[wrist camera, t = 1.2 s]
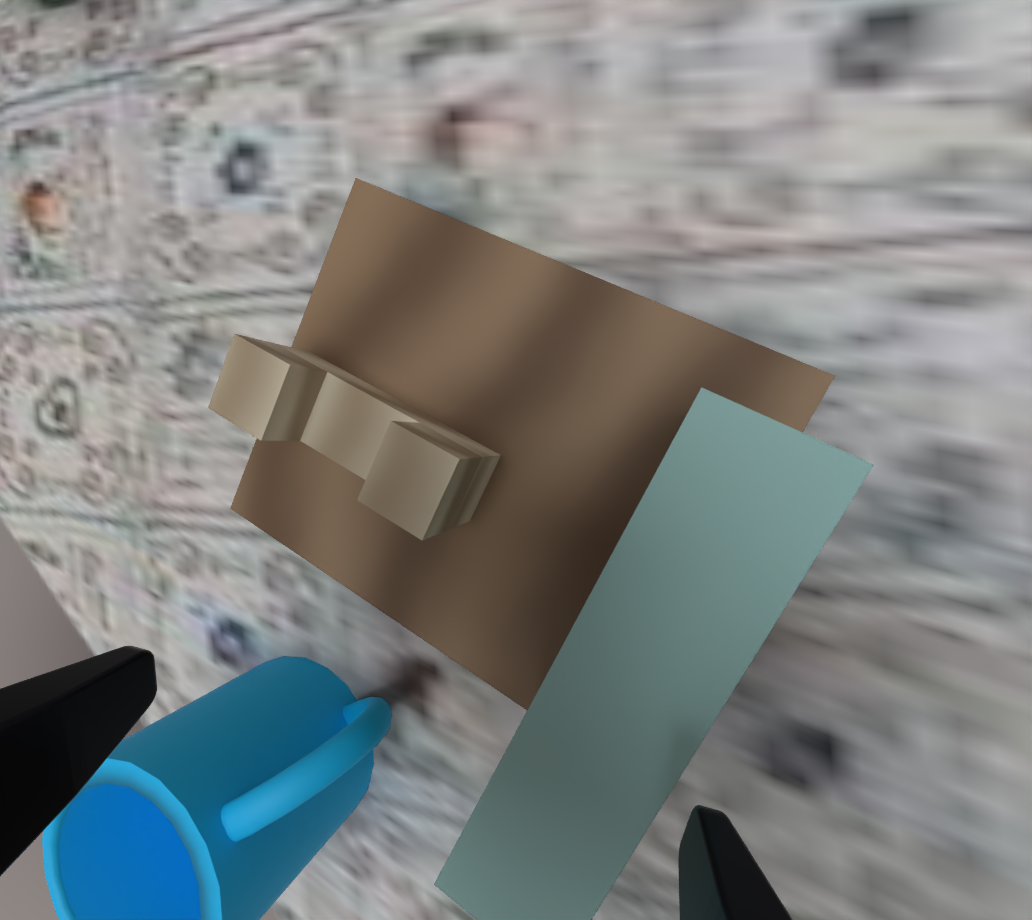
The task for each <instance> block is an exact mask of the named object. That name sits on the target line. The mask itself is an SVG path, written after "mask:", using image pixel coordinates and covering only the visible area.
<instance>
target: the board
mask: <svg viewBox="0 0 1032 920" xmlns="http://www.w3.org/2000/svg"><path fill="white" fill-rule="evenodd" d="M291 348H295V349H300V350H304V351H308V352H311V353H313V354H315V355H316V356H318V357H320V358H322V359H324V360H326V361H328V362H329V363H331V364H333V365H335V366H337V367H339V368H340V369H342V370H344V371H346V372H348V373H350V374H352V375H353V376H355V377H357V378H359V379H361V380H363V381H365V382H366V383H368V384H370V385H372V386H374V387H376V388H378V389H379V390H381V391H383V392H385V393H387V394H389V395H390V396H392V397H394V398H396V399H398V400H400V401H402V402H403V403H405V404H407V405H409V406H411V407H413V408H415V409H416V410H418V411H420V412H422V413H424V414H426V415H427V416H429V417H431V418H433V419H435V420H437V421H439V422H440V423H442V424H444V425H446V426H448V427H450V428H452V429H453V430H455V431H457V432H459V433H461V434H463V435H464V436H466V437H468V438H470V439H472V440H474V441H476V442H477V443H479V444H481V445H483V446H485V447H487V448H489V449H490V450H492V451H494V452H496V453H498V454H500V455H501V456H500V458H499V460H498V463H497V465H496V467H495V469H494V471H493V473H492V475H491V477H490V479H489V482H488V484H487V486H486V488H485V490H484V492H483V494H482V496H481V498H480V500H479V503H478V505H477V507H476V509H475V511H474V513H473V515H472V517H471V519H470V521H469V522H467V523H464V524H462V525H459V526H457V527H454V528H452V529H449V530H447V531H444V532H442V533H439V534H437V535H434V536H432V537H429V538H427V539H425V540H420V539H419V538H417V537H416V536H414V535H412V534H411V533H409V532H408V531H406V530H404V529H403V528H401V527H399V526H398V525H396V524H395V523H393V522H391V521H390V520H388V519H387V518H385V517H383V516H382V515H380V514H378V513H377V512H375V511H374V510H372V509H370V508H369V507H367V506H366V505H364V504H362V503H361V502H359V501H358V500H357V499H358V497H359V494H360V492H361V490H362V487H363V485H364V483H365V479H363V478H361V477H360V476H358V475H356V474H355V473H353V472H351V471H350V470H348V469H346V468H345V467H343V466H341V465H340V464H338V463H336V462H335V461H333V460H331V459H330V458H328V457H326V456H325V455H323V454H321V453H320V452H318V451H316V450H315V449H313V448H311V447H310V446H308V445H307V444H305V443H303V442H302V441H261V440H259V439H256V442H255V445H254V447H253V450H252V453H251V455H250V458H249V460H248V463H247V466H246V468H245V471H244V474H243V476H242V479H241V482H240V484H239V487H238V489H237V492H236V495H235V497H234V500H233V503H232V505H231V508H230V509H232V510H233V511H235V512H236V513H238V514H239V515H241V516H242V517H244V518H245V519H247V520H248V521H250V522H251V523H252V524H254V525H255V526H257V527H258V528H260V529H261V530H263V531H264V532H266V533H267V534H269V535H270V536H272V537H273V538H275V539H276V540H277V541H279V542H280V543H282V544H283V545H285V546H286V547H288V548H289V549H291V550H292V551H294V552H295V553H297V554H298V555H300V556H301V557H302V558H304V559H305V560H307V561H308V562H310V563H311V564H313V565H314V566H316V567H317V568H319V569H320V570H322V571H323V572H325V573H326V574H327V575H329V576H330V577H332V578H333V579H335V580H336V581H338V582H339V583H341V584H342V585H344V586H345V587H347V588H348V589H350V590H351V591H353V592H354V593H355V594H357V595H358V596H360V597H361V598H363V599H364V600H366V601H367V602H369V603H370V604H372V605H373V606H375V607H376V608H378V609H379V610H380V611H382V612H383V613H385V614H386V615H388V616H389V617H391V618H392V619H394V620H395V621H397V622H398V623H400V624H401V625H403V626H404V627H405V628H407V629H408V630H410V631H411V632H413V633H414V634H416V635H417V636H419V637H420V638H422V639H423V640H425V641H426V642H428V643H429V644H430V645H432V646H433V647H435V648H436V649H438V650H439V651H441V652H442V653H444V654H445V655H447V656H448V657H450V658H451V659H453V660H454V661H455V662H457V663H458V664H460V665H461V666H463V667H464V668H466V669H467V670H469V671H470V672H472V673H473V674H475V675H476V676H478V677H479V678H481V679H482V680H483V681H485V682H486V683H488V684H489V685H491V686H492V687H494V688H495V689H497V690H498V691H500V692H501V693H503V694H504V695H506V696H507V697H508V698H510V699H511V700H513V701H514V702H516V703H517V704H519V705H520V706H522V707H523V708H525V709H526V710H528V709H529V707H530V705H531V703H532V701H533V699H534V698H535V696H536V694H537V692H538V690H539V688H540V686H541V685H542V683H543V681H544V679H545V677H546V675H547V673H548V672H549V670H550V668H551V666H552V664H553V662H554V660H555V659H556V657H557V655H558V653H559V651H560V649H561V647H562V646H563V644H564V642H565V640H566V638H567V636H568V634H569V633H570V631H571V629H572V627H573V625H574V623H575V621H576V620H577V618H578V616H579V614H580V612H581V610H582V608H583V607H584V605H585V603H586V601H587V599H588V597H589V595H590V594H591V592H592V590H593V588H594V586H595V584H596V582H597V581H598V579H599V577H600V575H601V573H602V571H603V569H604V568H605V566H606V564H607V562H608V560H609V558H610V556H611V555H612V553H613V551H614V549H615V547H616V545H617V543H618V542H619V540H620V538H621V536H622V534H623V532H624V530H625V529H626V527H627V525H628V523H629V521H630V519H631V517H632V516H633V514H634V512H635V510H636V508H637V506H638V504H639V503H640V501H641V499H642V497H643V495H644V493H645V491H646V490H647V488H648V486H649V484H650V482H651V480H652V478H653V477H654V475H655V473H656V471H657V469H658V467H659V465H660V464H661V462H662V460H663V458H664V456H665V454H666V452H667V451H668V449H669V447H670V445H671V443H672V441H673V439H674V438H675V436H676V434H677V432H678V430H679V428H680V426H681V425H682V423H683V421H684V419H685V417H686V415H687V413H688V412H689V410H690V408H691V406H692V404H693V402H694V400H695V399H696V397H697V395H698V393H699V391H700V389H701V387H702V388H704V389H706V390H709V391H711V392H713V393H715V394H718V395H720V396H722V397H724V398H726V399H729V400H731V401H733V402H735V403H738V404H740V405H742V406H744V407H747V408H749V409H751V410H753V411H755V412H758V413H760V414H762V415H764V416H767V417H769V418H771V419H773V420H776V421H778V422H780V423H782V424H784V425H787V426H789V427H791V428H793V429H796V430H798V431H800V432H803V430H804V428H805V427H806V425H807V423H808V421H809V420H810V418H811V416H812V415H813V413H814V411H815V410H816V408H817V406H818V404H819V403H820V401H821V399H822V398H823V396H824V394H825V392H826V391H827V389H828V387H829V386H830V384H831V382H832V380H833V379H834V377H835V376H834V375H832V374H829V373H827V372H824V371H822V370H819V369H817V368H815V367H812V366H810V365H807V364H805V363H803V362H800V361H798V360H795V359H793V358H790V357H788V356H786V355H783V354H781V353H778V352H776V351H773V350H771V349H769V348H766V347H764V346H761V345H759V344H756V343H754V342H752V341H749V340H747V339H744V338H742V337H740V336H737V335H735V334H732V333H730V332H727V331H725V330H723V329H720V328H718V327H715V326H713V325H710V324H708V323H706V322H703V321H701V320H698V319H696V318H694V317H691V316H689V315H686V314H684V313H681V312H679V311H677V310H674V309H672V308H669V307H667V306H664V305H662V304H660V303H657V302H655V301H652V300H650V299H648V298H645V297H643V296H640V295H638V294H635V293H633V292H631V291H628V290H626V289H623V288H621V287H618V286H616V285H614V284H611V283H609V282H606V281H604V280H602V279H599V278H597V277H594V276H592V275H589V274H587V273H585V272H582V271H580V270H577V269H575V268H572V267H570V266H568V265H565V264H563V263H560V262H558V261H556V260H553V259H551V258H548V257H546V256H543V255H541V254H539V253H536V252H534V251H531V250H529V249H526V248H524V247H522V246H519V245H517V244H514V243H512V242H510V241H507V240H505V239H502V238H500V237H497V236H495V235H493V234H490V233H488V232H485V231H483V230H480V229H478V228H476V227H473V226H471V225H468V224H466V223H463V222H461V221H459V220H456V219H454V218H451V217H449V216H447V215H444V214H442V213H439V212H437V211H434V210H432V209H430V208H427V207H425V206H422V205H420V204H417V203H415V202H413V201H410V200H408V199H405V198H403V197H401V196H398V195H396V194H393V193H391V192H388V191H386V190H384V189H381V188H379V187H376V186H374V185H371V184H369V183H367V182H364V181H362V180H359V179H357V178H356V179H355V181H354V184H353V187H352V189H351V192H350V194H349V197H348V200H347V202H346V205H345V208H344V210H343V213H342V216H341V218H340V221H339V223H338V226H337V229H336V231H335V234H334V237H333V239H332V242H331V245H330V247H329V250H328V252H327V255H326V258H325V260H324V263H323V266H322V268H321V271H320V273H319V276H318V279H317V281H316V284H315V287H314V289H313V292H312V295H311V297H310V300H309V302H308V305H307V308H306V310H305V313H304V316H303V318H302V321H301V324H300V326H299V329H298V331H297V334H296V337H295V339H294V342H293V345H292V347H291Z"/></svg>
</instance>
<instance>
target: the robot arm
mask: <svg viewBox="0 0 1032 920" xmlns="http://www.w3.org/2000/svg"><path fill="white" fill-rule="evenodd" d="M156 692H157V682H156V671H155V660H154V655H153V654H152V653H151V652H150V651H148V650H145V649H141V648H138V647H134V646H124V647H121V648H118V649H115V650H112V651H109V652H106V653H103V654H100V655H97V656H94V657H91V658H89V659H86V660H83V661H80V662H77V663H74V664H71V665H68V666H65V667H62V668H60V669H57V670H54V671H51V672H48V673H45V674H42V675H39V676H36V677H33V678H30V679H27V680H24V681H21V682H19V683H16V684H13V685H10V686H7V687H4V688H1V689H0V876H1V875H2V874H3V873H4V872H5V871H6V870H7V868H9V866H10V865H11V864H12V863H13V862H14V861H15V860H16V859H17V858H18V857H19V856H20V855H21V854H22V853H23V852H24V851H25V850H26V848H27V847H28V846H29V845H30V844H31V843H32V842H33V841H34V840H35V839H36V838H37V837H38V836H39V835H40V833H42V832H43V831H44V830H45V828H46V827H47V826H48V825H49V824H50V823H51V822H52V821H53V820H54V819H55V818H56V817H57V816H58V815H59V814H60V813H61V812H62V810H63V809H64V808H65V807H66V806H67V805H68V804H69V803H70V802H71V801H72V800H73V798H74V797H75V796H76V795H77V794H78V793H79V792H80V790H81V789H82V788H83V787H84V786H85V784H86V783H87V782H88V781H89V780H90V779H91V777H92V776H93V775H94V774H95V772H96V771H97V770H98V769H99V768H100V766H101V765H102V764H103V763H104V761H105V760H106V759H107V758H108V757H109V755H110V754H111V753H112V752H113V750H114V749H115V748H116V747H117V745H118V744H119V743H120V742H121V741H122V739H123V738H124V737H125V735H126V734H127V733H128V732H129V731H130V730H131V728H132V727H133V726H134V725H135V723H136V722H137V721H138V720H139V719H140V717H141V716H142V715H143V714H144V712H145V711H146V710H147V709H148V707H149V706H150V705H151V703H152V702H153V700H154V698H155V695H156ZM678 862H679V902H680V920H792V918H791V917H790V915H789V913H788V912H787V910H786V909H785V907H784V905H783V904H782V902H781V901H780V899H779V898H778V896H777V894H776V893H775V891H774V890H773V888H772V886H771V885H770V883H769V882H768V880H767V878H766V877H765V875H764V874H763V872H762V871H761V869H760V867H759V866H758V864H757V863H756V861H755V859H754V858H753V856H752V855H751V853H750V851H749V850H748V848H747V847H746V845H745V844H744V842H743V840H742V839H741V837H740V836H739V834H738V832H737V831H736V829H735V828H734V826H733V825H732V823H731V821H730V820H729V818H728V817H727V816H726V815H725V814H724V813H723V812H721V811H718V810H715V809H711V808H708V807H704V806H701V805H697V806H695V807H694V808H693V810H692V812H691V815H690V818H689V821H688V823H687V826H686V829H685V832H684V834H683V837H682V840H681V843H680V848H679V859H678Z"/></svg>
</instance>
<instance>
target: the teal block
mask: <svg viewBox="0 0 1032 920" xmlns="http://www.w3.org/2000/svg"><path fill="white" fill-rule="evenodd" d="M873 465H874V464H872V463H869V462H867V461H865V460H863V459H860V458H858V457H856V456H854V455H851V454H849V453H847V452H845V451H843V450H840V449H838V448H836V447H834V446H831V445H829V444H827V443H825V442H822V441H820V440H818V439H816V438H814V437H811V436H809V435H807V434H805V433H802V432H800V431H798V430H796V429H793V428H791V427H789V426H787V425H784V424H782V423H780V422H778V421H776V420H773V419H771V418H769V417H767V416H764V415H762V414H760V413H758V412H755V411H753V410H751V409H749V408H747V407H744V406H742V405H740V404H738V403H735V402H733V401H731V400H729V399H726V398H724V397H722V396H720V395H718V394H715V393H713V392H711V391H709V390H706V389H704V388H702V387H701V389H700V391H699V393H698V395H697V397H696V399H695V400H694V402H693V404H692V406H691V408H690V410H689V412H688V413H687V415H686V417H685V419H684V421H683V423H682V425H681V426H680V428H679V430H678V432H677V434H676V436H675V438H674V439H673V441H672V443H671V445H670V447H669V449H668V451H667V452H666V454H665V456H664V458H663V460H662V462H661V464H660V465H659V467H658V469H657V471H656V473H655V475H654V477H653V478H652V480H651V482H650V484H649V486H648V488H647V490H646V491H645V493H644V495H643V497H642V499H641V501H640V503H639V504H638V506H637V508H636V510H635V512H634V514H633V516H632V517H631V519H630V521H629V523H628V525H627V527H626V529H625V530H624V532H623V534H622V536H621V538H620V540H619V542H618V543H617V545H616V547H615V549H614V551H613V553H612V555H611V556H610V558H609V560H608V562H607V564H606V566H605V568H604V569H603V571H602V573H601V575H600V577H599V579H598V581H597V582H596V584H595V586H594V588H593V590H592V592H591V594H590V595H589V597H588V599H587V601H586V603H585V605H584V607H583V608H582V610H581V612H580V614H579V616H578V618H577V620H576V621H575V623H574V625H573V627H572V629H571V631H570V633H569V634H568V636H567V638H566V640H565V642H564V644H563V646H562V647H561V649H560V651H559V653H558V655H557V657H556V659H555V660H554V662H553V664H552V666H551V668H550V670H549V672H548V673H547V675H546V677H545V679H544V681H543V683H542V685H541V686H540V688H539V690H538V692H537V694H536V696H535V698H534V699H533V701H532V703H531V705H530V707H529V709H528V711H527V712H526V714H525V716H524V718H523V720H522V722H521V724H520V726H519V727H518V729H517V731H516V733H515V735H514V737H513V739H512V740H511V742H510V744H509V746H508V748H507V750H506V752H505V753H504V755H503V757H502V759H501V761H500V763H499V765H498V766H497V768H496V770H495V772H494V774H493V776H492V778H491V779H490V781H489V783H488V785H487V787H486V789H485V791H484V792H483V794H482V796H481V798H480V800H479V802H478V804H477V805H476V807H475V809H474V811H473V813H472V815H471V817H470V818H469V820H468V822H467V824H466V826H465V828H464V830H463V831H462V833H461V835H460V837H459V839H458V841H457V843H456V844H455V846H454V848H453V850H452V852H451V854H450V856H449V857H448V859H447V861H446V863H445V865H444V867H443V869H442V870H441V872H440V874H439V876H438V878H437V880H436V882H435V883H434V885H435V886H436V887H438V888H439V889H440V890H441V891H443V892H444V893H445V894H446V895H447V896H449V897H450V898H451V899H452V900H453V901H455V902H456V903H457V904H458V905H460V906H461V907H462V908H463V909H464V910H466V911H467V912H468V913H469V914H470V915H472V916H473V917H474V918H475V919H476V920H592V918H593V916H594V915H595V913H596V911H597V910H598V908H599V907H600V905H601V903H602V902H603V900H604V899H605V897H606V895H607V894H608V892H609V891H610V889H611V887H612V886H613V884H614V882H615V881H616V879H617V878H618V876H619V874H620V873H621V871H622V870H623V868H624V866H625V865H626V863H627V861H628V860H629V858H630V857H631V855H632V853H633V852H634V850H635V849H636V847H637V845H638V844H639V842H640V841H641V839H642V837H643V836H644V834H645V832H646V831H647V829H648V828H649V826H650V824H651V823H652V821H653V820H654V818H655V816H656V815H657V813H658V812H659V810H660V808H661V807H662V805H663V803H664V802H665V800H666V799H667V797H668V795H669V794H670V792H671V791H672V789H673V787H674V786H675V784H676V783H677V781H678V779H679V778H680V776H681V774H682V773H683V771H684V770H685V768H686V766H687V765H688V763H689V762H690V760H691V758H692V757H693V755H694V754H695V752H696V750H697V749H698V747H699V745H700V744H701V742H702V741H703V739H704V737H705V736H706V734H707V733H708V731H709V729H710V728H711V726H712V724H713V723H714V721H715V720H716V718H717V716H718V715H719V713H720V712H721V710H722V708H723V707H724V705H725V704H726V702H727V700H728V699H729V697H730V695H731V694H732V692H733V691H734V689H735V687H736V686H737V684H738V683H739V681H740V679H741V678H742V676H743V675H744V673H745V671H746V670H747V668H748V666H749V665H750V663H751V662H752V660H753V658H754V657H755V655H756V654H757V652H758V650H759V649H760V647H761V646H762V644H763V642H764V641H765V639H766V637H767V636H768V634H769V633H770V631H771V629H772V628H773V626H774V625H775V623H776V621H777V620H778V618H779V617H780V615H781V613H782V612H783V610H784V608H785V607H786V605H787V604H788V602H789V600H790V599H791V597H792V596H793V594H794V592H795V591H796V589H797V588H798V586H799V584H800V583H801V581H802V579H803V578H804V576H805V575H806V573H807V571H808V570H809V568H810V567H811V565H812V563H813V562H814V560H815V558H816V557H817V555H818V554H819V552H820V550H821V549H822V547H823V546H824V544H825V542H826V541H827V539H828V538H829V536H830V534H831V533H832V531H833V529H834V528H835V526H836V525H837V523H838V521H839V520H840V518H841V517H842V515H843V513H844V512H845V510H846V509H847V507H848V505H849V504H850V502H851V500H852V499H853V497H854V496H855V494H856V492H857V491H858V489H859V488H860V486H861V484H862V483H863V481H864V480H865V478H866V476H867V475H868V473H869V471H870V470H871V468H872V467H873Z"/></svg>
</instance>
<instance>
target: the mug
mask: <svg viewBox="0 0 1032 920" xmlns="http://www.w3.org/2000/svg"><path fill="white" fill-rule="evenodd" d="M391 718H392V712H391V708H390V706H389V704H388V703H387V702H386V701H385V700H384V699H382V698H380V697H368V698H365V699H362V700H359V701H357V700H356V698H355V697H354V695H353V694H352V692H351V691H350V689H349V688H348V686H347V685H346V684H345V683H344V682H343V681H341V680H340V679H339V678H338V677H337V676H336V675H335V674H334V673H332V672H331V671H330V670H329V669H328V668H326V667H324V666H322V665H320V664H317V663H315V662H313V661H311V660H309V659H307V658H299V657H287V656H283V657H280V658H277V659H274V660H271V661H268V662H264V663H263V664H261V665H259V666H257V667H255V668H253V669H252V670H250V671H248V672H246V673H244V674H242V675H241V676H239V677H237V678H235V679H233V680H231V681H230V682H228V683H226V684H224V685H222V686H221V687H219V688H217V689H215V690H213V691H211V692H210V693H208V694H206V695H204V696H202V697H200V698H199V699H197V700H195V701H193V702H191V703H189V704H188V705H186V706H184V707H182V708H180V709H178V710H177V711H175V712H173V713H171V714H169V715H167V716H166V717H164V718H162V719H160V720H158V721H156V722H155V723H153V724H151V725H149V726H147V727H145V728H144V729H142V730H140V731H138V732H136V733H135V734H133V735H131V736H129V737H127V738H125V739H124V740H122V741H121V742H120V743H119V744H118V745H117V747H116V748H115V749H114V750H113V752H112V753H111V754H110V755H109V757H108V758H107V759H106V760H105V761H104V763H103V764H102V765H101V766H100V768H99V769H98V770H97V771H96V772H95V774H94V775H93V776H92V777H91V779H90V780H89V781H88V782H87V783H86V784H85V786H84V787H83V788H82V789H81V790H80V792H79V793H78V794H77V795H76V796H75V797H74V798H73V800H72V801H71V802H70V803H69V804H68V805H67V806H66V807H65V808H64V809H63V810H62V812H61V813H60V814H59V815H58V816H57V817H56V818H55V819H54V820H53V821H52V822H51V823H50V824H49V825H48V826H47V827H46V828H45V830H44V831H43V838H42V843H43V855H44V867H45V877H46V880H47V883H48V887H49V890H50V894H51V897H52V901H53V904H54V908H55V911H56V913H57V915H58V917H59V919H60V920H260V918H261V917H262V916H263V915H264V914H265V912H266V911H267V910H268V909H269V908H270V907H271V906H272V904H273V903H274V902H275V901H276V900H277V899H278V897H279V896H280V895H281V894H282V893H283V892H284V891H285V889H286V888H287V887H288V886H289V885H290V884H291V882H292V881H293V880H294V879H295V878H296V877H297V875H298V874H299V873H300V872H301V871H302V870H303V868H304V867H305V866H306V865H307V864H308V863H309V861H310V860H311V859H312V858H313V857H314V856H315V855H316V853H317V852H318V851H319V850H320V849H321V848H322V846H323V845H324V844H325V843H326V842H327V841H328V839H329V838H330V837H331V836H332V835H333V834H334V832H335V831H336V830H337V829H338V828H339V827H340V825H341V824H342V823H343V822H344V821H345V820H346V819H347V817H348V816H349V815H350V814H351V813H352V812H353V810H354V809H355V808H356V807H357V805H358V803H359V802H360V800H361V799H362V797H363V796H364V794H365V792H366V791H367V789H368V786H369V782H370V778H371V773H372V769H373V765H374V761H373V748H374V747H376V746H377V745H378V743H379V742H380V741H381V740H382V738H383V737H384V736H385V735H386V733H387V732H388V731H389V729H390V725H391Z"/></svg>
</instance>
